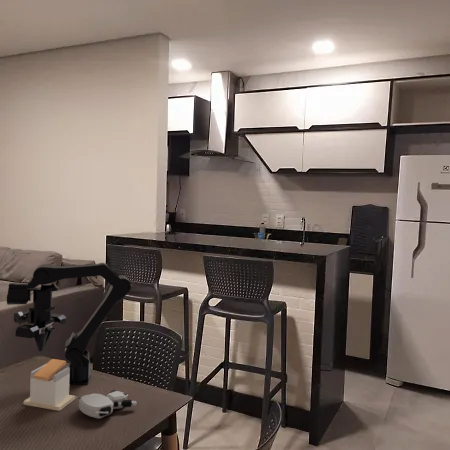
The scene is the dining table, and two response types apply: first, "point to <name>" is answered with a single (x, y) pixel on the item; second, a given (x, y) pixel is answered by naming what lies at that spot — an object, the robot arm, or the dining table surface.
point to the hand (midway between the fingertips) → (41, 350)
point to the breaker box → (50, 391)
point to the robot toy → (103, 403)
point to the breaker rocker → (49, 369)
